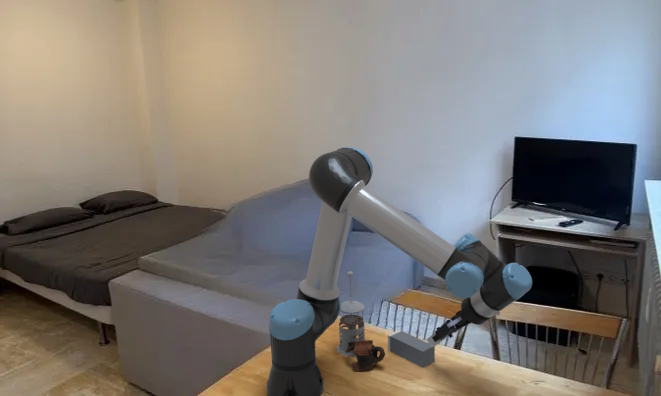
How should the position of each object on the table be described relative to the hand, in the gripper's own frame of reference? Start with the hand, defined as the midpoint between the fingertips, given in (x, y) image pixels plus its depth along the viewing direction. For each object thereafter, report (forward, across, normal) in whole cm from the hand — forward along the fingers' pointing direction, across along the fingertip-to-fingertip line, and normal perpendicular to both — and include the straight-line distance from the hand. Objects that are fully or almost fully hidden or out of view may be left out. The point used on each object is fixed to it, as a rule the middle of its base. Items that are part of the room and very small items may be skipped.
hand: (430, 342), depth 151 cm
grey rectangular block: (+4, 0, -3) cm, 5 cm away
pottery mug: (+15, -13, +4) cm, 20 cm away
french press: (+22, -9, +11) cm, 26 cm away
